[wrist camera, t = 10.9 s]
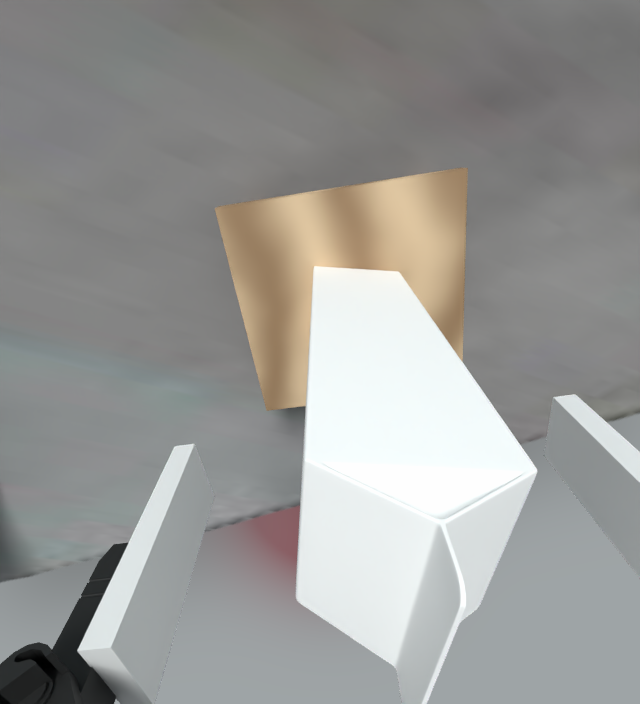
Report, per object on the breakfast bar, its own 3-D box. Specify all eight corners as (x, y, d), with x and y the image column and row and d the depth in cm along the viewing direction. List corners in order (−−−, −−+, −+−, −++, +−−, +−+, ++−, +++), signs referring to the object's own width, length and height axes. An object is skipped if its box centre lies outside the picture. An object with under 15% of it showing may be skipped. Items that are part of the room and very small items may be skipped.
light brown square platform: (274, 374, 37) (266, 410, 32) (233, 199, 30) (214, 208, 24) (440, 352, 36) (461, 386, 31) (440, 166, 29) (467, 168, 23)
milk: (309, 343, 29) (280, 739, 9) (313, 263, 26) (286, 589, 6) (388, 347, 29) (526, 748, 9) (401, 269, 26) (636, 605, 7)
